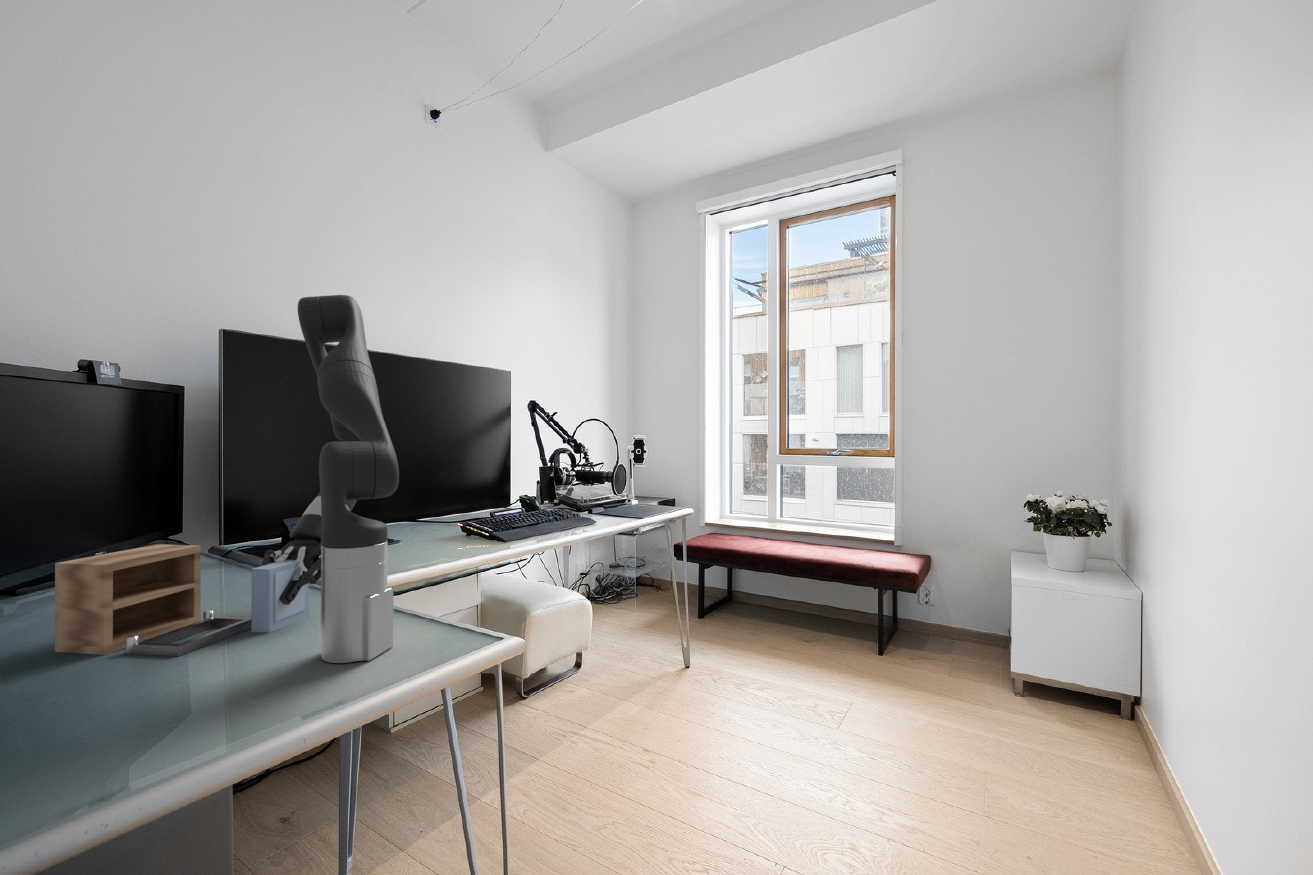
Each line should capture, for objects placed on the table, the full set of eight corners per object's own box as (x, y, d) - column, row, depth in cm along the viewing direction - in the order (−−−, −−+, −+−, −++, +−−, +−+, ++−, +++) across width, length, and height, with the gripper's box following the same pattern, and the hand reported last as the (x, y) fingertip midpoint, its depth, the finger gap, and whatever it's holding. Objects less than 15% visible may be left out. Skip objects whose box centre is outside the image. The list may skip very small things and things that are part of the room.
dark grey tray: (255, 625, 101) (255, 612, 101) (177, 656, 86) (177, 640, 86) (208, 623, 102) (208, 609, 102) (123, 653, 88) (123, 637, 88)
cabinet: (200, 621, 103) (200, 545, 103) (104, 654, 87) (104, 564, 87) (157, 619, 104) (157, 544, 104) (54, 652, 88) (55, 563, 88)
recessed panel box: (308, 616, 106) (309, 558, 106) (270, 632, 97) (270, 569, 97) (291, 615, 107) (291, 557, 107) (251, 631, 98) (251, 568, 98)
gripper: (278, 511, 110) (223, 589, 98) (345, 513, 109) (297, 592, 97) (299, 534, 116) (248, 610, 104) (362, 535, 114) (319, 614, 102)
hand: (272, 601), depth 100 cm, fingers open, 4 cm apart
